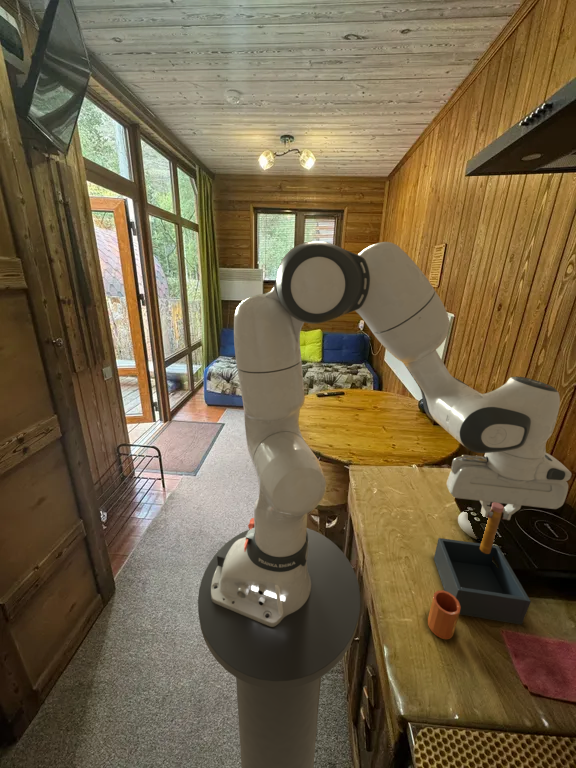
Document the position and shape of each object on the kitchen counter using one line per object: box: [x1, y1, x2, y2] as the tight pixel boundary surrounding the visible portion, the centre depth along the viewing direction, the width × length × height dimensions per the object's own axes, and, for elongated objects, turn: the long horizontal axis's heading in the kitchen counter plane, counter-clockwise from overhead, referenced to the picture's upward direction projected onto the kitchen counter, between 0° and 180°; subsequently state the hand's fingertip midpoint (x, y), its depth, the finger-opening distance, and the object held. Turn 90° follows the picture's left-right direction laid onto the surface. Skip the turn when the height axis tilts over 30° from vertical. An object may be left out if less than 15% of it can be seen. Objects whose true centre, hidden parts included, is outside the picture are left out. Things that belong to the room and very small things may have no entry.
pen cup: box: [427, 589, 461, 640], centre depth 62 cm, size 5×5×7 cm
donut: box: [457, 511, 477, 540], centre depth 87 cm, size 10×4×10 cm
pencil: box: [480, 502, 505, 554], centre depth 65 cm, size 2×2×12 cm
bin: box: [433, 537, 531, 626], centre depth 69 cm, size 14×14×7 cm
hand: (494, 516), depth 64 cm, fingers closed on pencil, 2 cm apart
